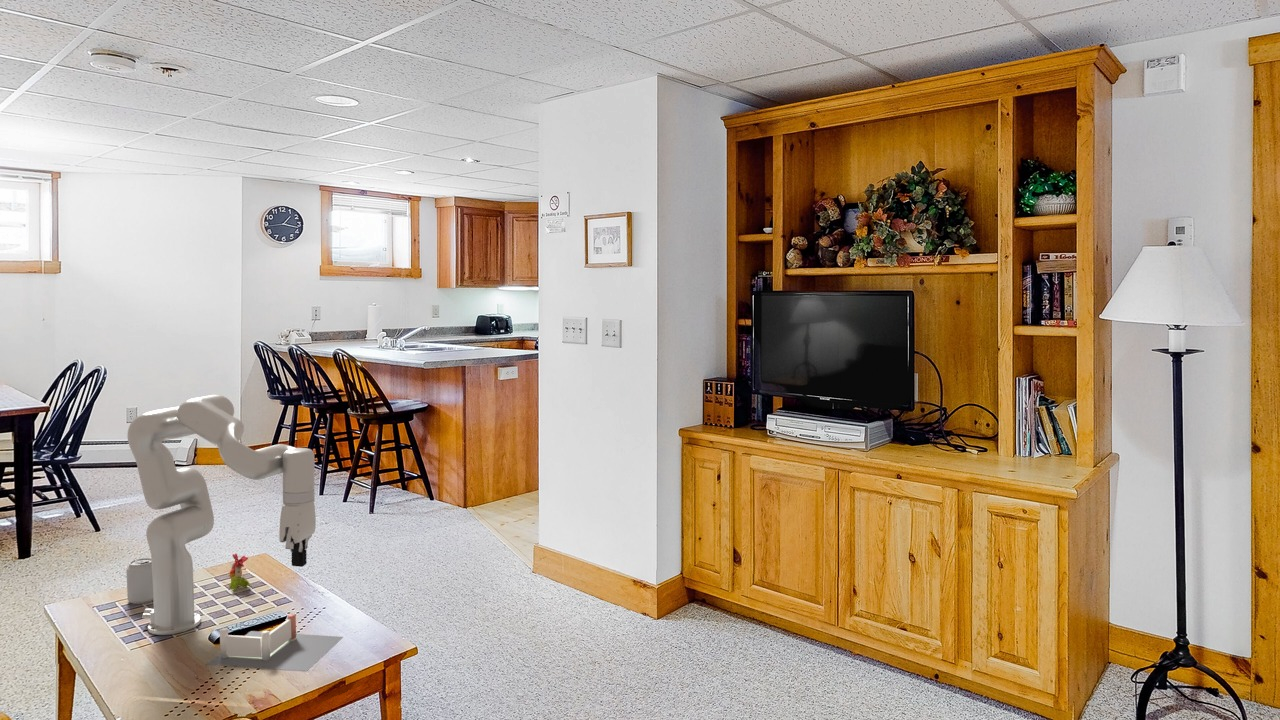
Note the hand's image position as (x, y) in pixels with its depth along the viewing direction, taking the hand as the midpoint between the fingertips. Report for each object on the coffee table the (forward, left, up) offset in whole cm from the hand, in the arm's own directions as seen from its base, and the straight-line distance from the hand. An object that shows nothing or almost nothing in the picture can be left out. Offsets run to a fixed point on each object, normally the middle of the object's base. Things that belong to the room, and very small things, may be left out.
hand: (299, 565), depth 203 cm
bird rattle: (-39, +34, -22) cm, 56 cm away
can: (-60, +21, -22) cm, 68 cm away
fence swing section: (-3, -3, -20) cm, 21 cm away
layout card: (-3, -5, -21) cm, 22 cm away
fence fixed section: (-9, -10, -21) cm, 25 cm away
